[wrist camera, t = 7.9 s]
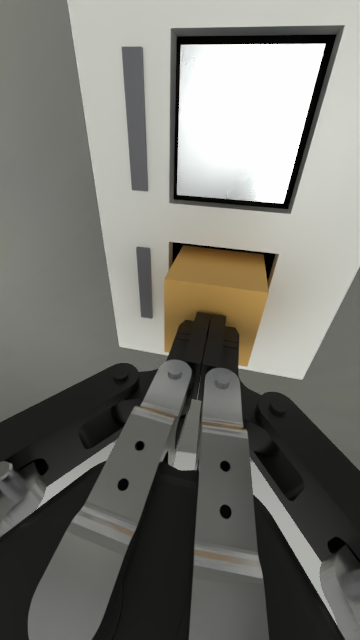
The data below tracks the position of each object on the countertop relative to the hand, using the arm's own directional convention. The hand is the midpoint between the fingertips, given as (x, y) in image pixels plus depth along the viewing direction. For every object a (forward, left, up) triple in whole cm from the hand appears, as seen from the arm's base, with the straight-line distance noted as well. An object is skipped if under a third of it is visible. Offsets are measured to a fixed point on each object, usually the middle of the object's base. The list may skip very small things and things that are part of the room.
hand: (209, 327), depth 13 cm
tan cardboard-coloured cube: (0, 0, -4) cm, 4 cm away
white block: (-8, 0, -7) cm, 11 cm away
